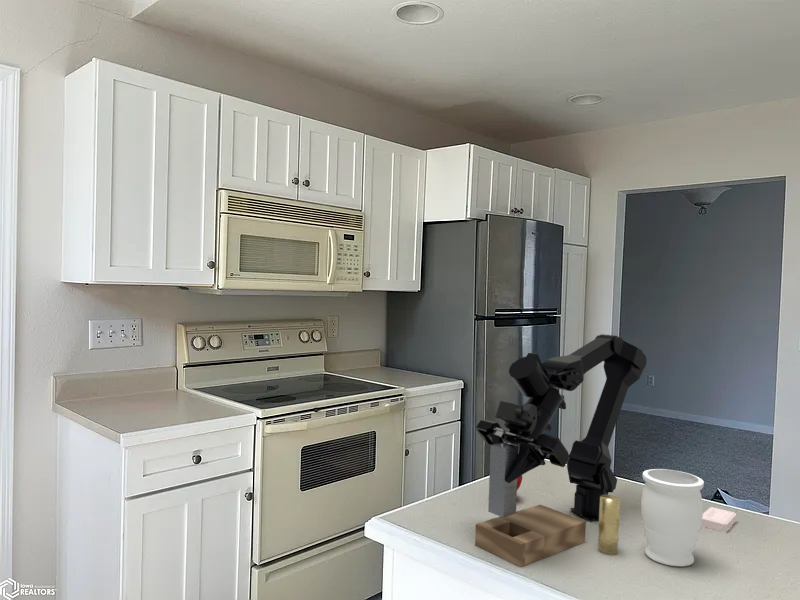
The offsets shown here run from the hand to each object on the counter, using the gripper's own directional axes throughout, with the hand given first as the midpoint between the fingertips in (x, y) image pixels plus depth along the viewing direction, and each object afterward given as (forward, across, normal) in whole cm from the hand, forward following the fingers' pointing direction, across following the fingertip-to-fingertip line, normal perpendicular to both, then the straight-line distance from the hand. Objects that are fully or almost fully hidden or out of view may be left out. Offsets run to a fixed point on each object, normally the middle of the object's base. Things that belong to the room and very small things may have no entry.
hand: (498, 478), depth 113 cm
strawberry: (-7, -17, +26) cm, 32 cm away
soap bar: (-25, +19, +45) cm, 55 cm away
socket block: (+4, +2, +15) cm, 16 cm away
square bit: (+4, 0, +6) cm, 7 cm away
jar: (-7, +21, +27) cm, 35 cm away
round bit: (-2, +12, +22) cm, 25 cm away
